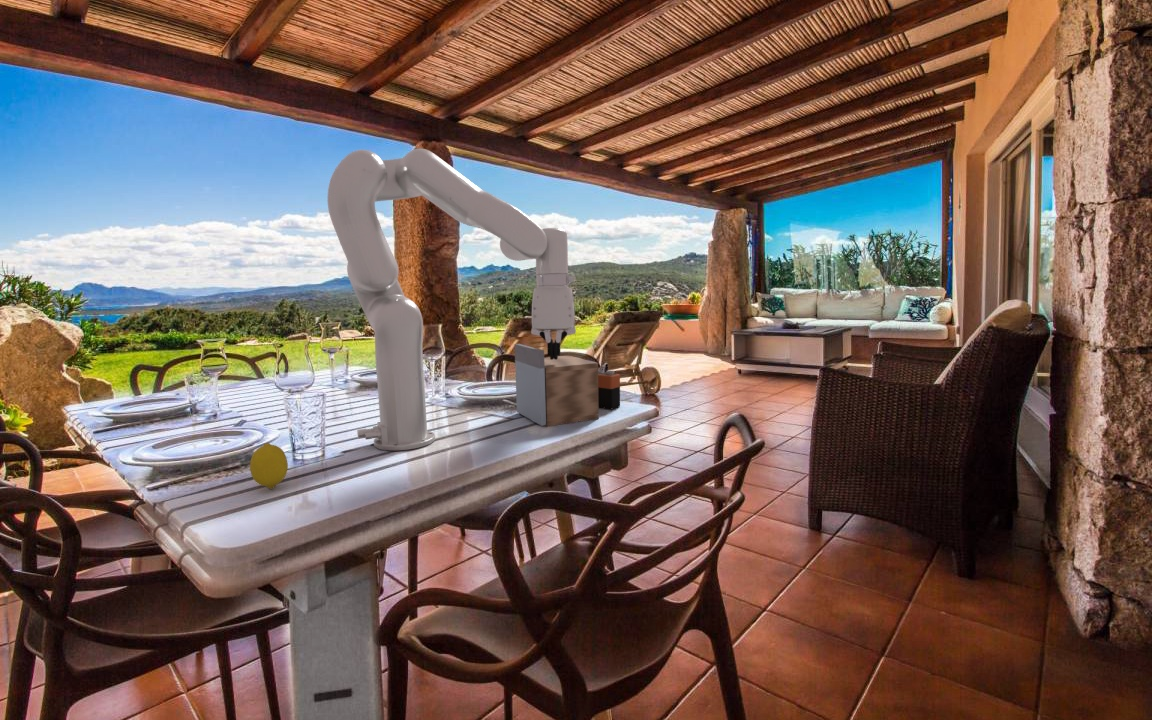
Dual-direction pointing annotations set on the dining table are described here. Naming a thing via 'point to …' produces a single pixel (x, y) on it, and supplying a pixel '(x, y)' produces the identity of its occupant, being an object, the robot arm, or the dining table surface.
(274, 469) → the lemon
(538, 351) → the door
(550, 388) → the cubby
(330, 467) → the dining table surface
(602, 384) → the battery
